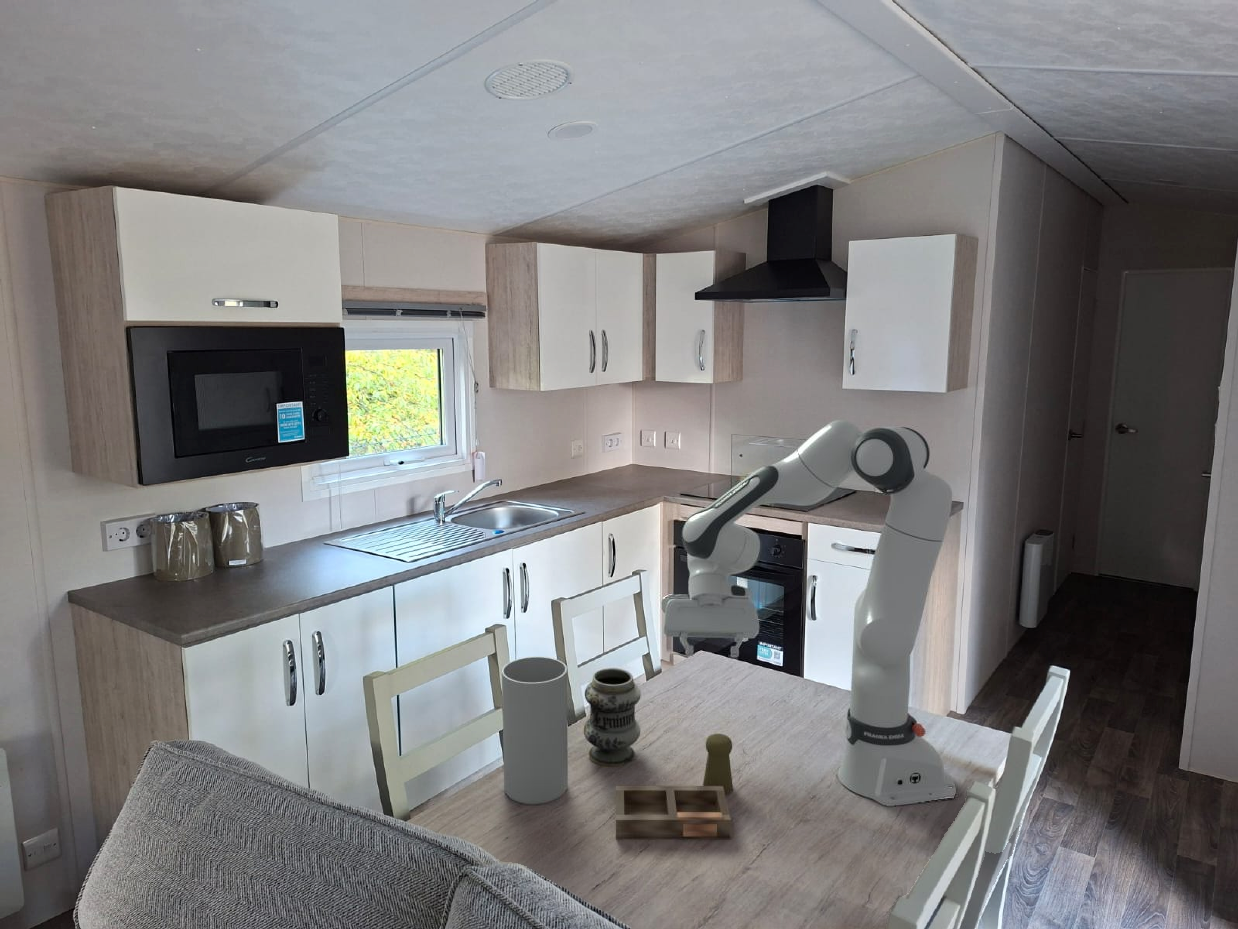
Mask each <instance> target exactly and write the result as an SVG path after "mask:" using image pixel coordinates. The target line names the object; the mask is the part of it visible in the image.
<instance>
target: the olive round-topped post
mask: <svg viewBox="0 0 1238 929" xmlns="http://www.w3.org/2000/svg"><path fill="white" fill-rule="evenodd" d="M705 750H706V752H707V759H706V764H705V770H704V777H703V783H702V786H723V788H724V792H725V796H726V797H727V796H730V795H731V794H732V793H733V791H734V786H733V776H732V769H731V768H732V767H731V759H730V758H731V757H730V754H731V752H732V750H733V742H732V740H731V738H730V737H729V736H727V734H723V733H713V734H710V735H709V736H708V737H707V739H706V740H705Z"/></svg>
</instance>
